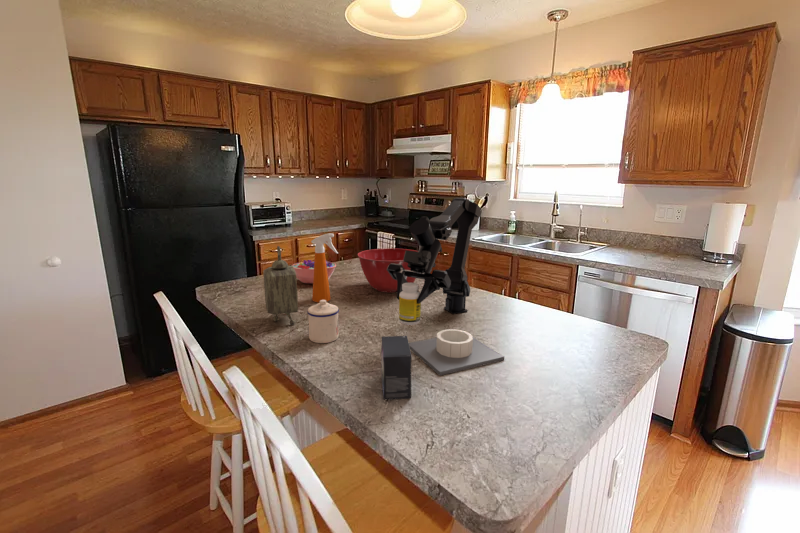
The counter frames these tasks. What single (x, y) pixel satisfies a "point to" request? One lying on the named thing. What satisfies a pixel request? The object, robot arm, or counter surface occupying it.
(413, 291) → the pill bottle
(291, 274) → the tabletop clock
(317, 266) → the spray bottle
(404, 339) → the small box
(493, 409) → the counter surface
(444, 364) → the socket board
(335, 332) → the teacup with lid
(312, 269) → the cell model
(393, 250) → the mixing bowl
